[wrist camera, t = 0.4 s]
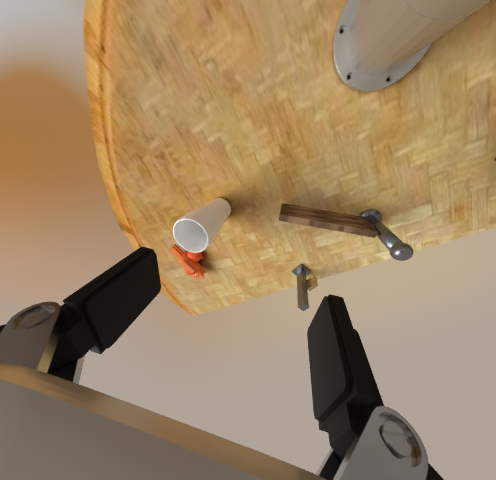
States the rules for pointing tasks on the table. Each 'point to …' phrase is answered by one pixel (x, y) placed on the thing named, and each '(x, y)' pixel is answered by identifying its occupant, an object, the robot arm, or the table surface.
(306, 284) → the post
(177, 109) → the table surface
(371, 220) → the hinge post
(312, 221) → the gate
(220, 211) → the drinking glass
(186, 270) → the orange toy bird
